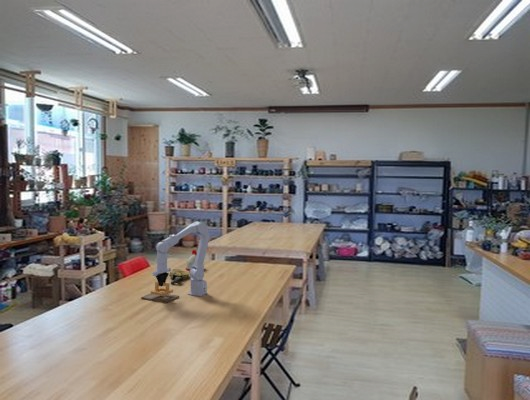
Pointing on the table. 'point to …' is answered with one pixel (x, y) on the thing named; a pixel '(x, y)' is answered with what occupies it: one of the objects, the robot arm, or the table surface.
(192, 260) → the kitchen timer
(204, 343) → the table surface
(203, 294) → the robot arm
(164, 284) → the link
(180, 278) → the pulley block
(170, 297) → the walnut board
